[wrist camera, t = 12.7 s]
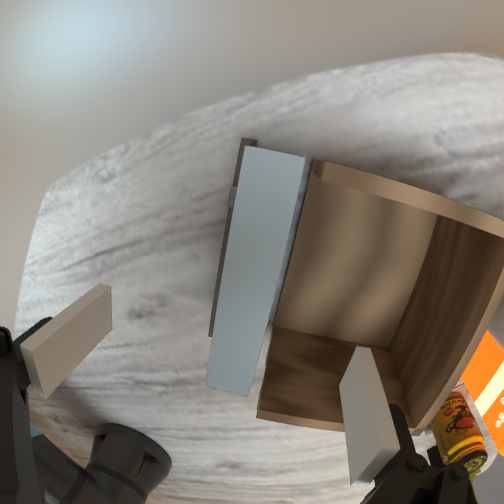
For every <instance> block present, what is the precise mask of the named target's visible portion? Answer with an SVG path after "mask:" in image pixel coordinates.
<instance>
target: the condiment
mask: <svg viewBox="0 0 504 504" xmlns="http://www.w3.org/2000/svg"><path fill="white" fill-rule="evenodd" d="M424 430H425V435H428V434H430V433H432V432H433V434H434V437H435V440H436V443H437V445H438V449H439V452H440V455H441V458H442V461H443V463H444V464H445V465H448V464H449V463H453V462H457V463H460V464H462V465H464V466H465V467H466V468H467V470H468V472H469V475H470V474H472V473H474V472H475V471H477V470H478V469H479V468H480V467H482V466H483V465H484V463H485V462H486V460H487V458H488V457H487V452H486V451H485V446H484V445H483V443H484V438H483V436H482V434H481V432H480V430H479V427H478V426H477V423H476V421H475V418H474V417H473V415H472V413H471V411H470V409H469V407H468V405H467V400H466V385H465V384H462V385H460V386H458V387H456V388H454V389H453V390H452V391H451V393H450V394H449V396H448V397H447V399H446V400H445V402H444V403H443V405H442V406H441V408H440V409H439V410H438V412H437V413H436V415H435V416H434V417H433V419H432V420H431V421H430V423H429V424H428V425H427V427H426V428H425V429H424Z"/></svg>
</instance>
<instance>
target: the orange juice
mask: <svg viewBox="0 0 504 504" xmlns="http://www.w3.org/2000/svg"><path fill="white" fill-rule="evenodd" d="M461 378H462V380H463V382H464V384H465V385H466V387H467V389H468V391H469V393H470V394H471V396H472V398H473V400H474V402H475V405H476V407H477V409H478V411H479V413H480V415H481V417H482V418H483V420H484V422H485V424H486V426H487V428H488V430H489V432H490V434H491V436H492V438H493V441H494V443H495V445H496V447H497V449H498V452H499V453H500V454H501V455H502V456H503V457H504V350H503V349H502V348H501V347H500V345H499V344H498V343H497V342H496V341H495V339H494V338H493V337H492V336H491V335H490V333H489V332H488V331H486V333H485V335H484V337H483V339H482V340H481V342H480V344H479V346H478V348H477V350H476V352H475V353H474V355H473V357H472V359H471V361H470V362H469V364H468V366H467V367H466V369H465V371H464V372H463V374H462V376H461Z"/></svg>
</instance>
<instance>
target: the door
mask: <svg viewBox="0 0 504 504" xmlns="http://www.w3.org/2000/svg"><path fill="white" fill-rule="evenodd" d="M305 160H306V158H305V157H303V156H298V155H294V154H289V153H284V152H280V151H275V150H270V149H265V148H258V147H251V146H245V149H244V154H243V160H242V165H241V170H240V176H239V181H238V187H234V186H233V187H232V188H231V191H230V194H229V199H228V207H231V208H234V209H233V214H232V220H231V226H230V231H229V237H228V243H227V249H226V255H225V261H224V267H223V273H222V279H221V285H220V291H219V297H218V304H217V310H216V316H215V323H214V329H213V336H212V342H211V349H210V356H209V362H208V369H207V376H206V383H205V386H208V387H211V388H215V389H219V390H223V391H226V392H230V393H234V394H238V395H243V396H247V397H248V395H249V391H250V387H251V384H252V380H253V376H254V373H255V369H256V365H257V361H258V358H259V354H260V350H261V346H262V342H263V339H264V335H265V331H266V327H267V323H268V319H269V315H270V311H271V307H272V303H273V299H274V295H275V291H276V287H277V283H278V279H279V275H280V270H281V266H282V262H283V258H284V254H285V249H286V245H287V241H288V236H289V232H290V228H291V223H292V219H293V215H294V210H295V206H296V201H297V197H298V192H299V188H300V183H301V178H302V174H303V169H304V164H305Z"/></svg>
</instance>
